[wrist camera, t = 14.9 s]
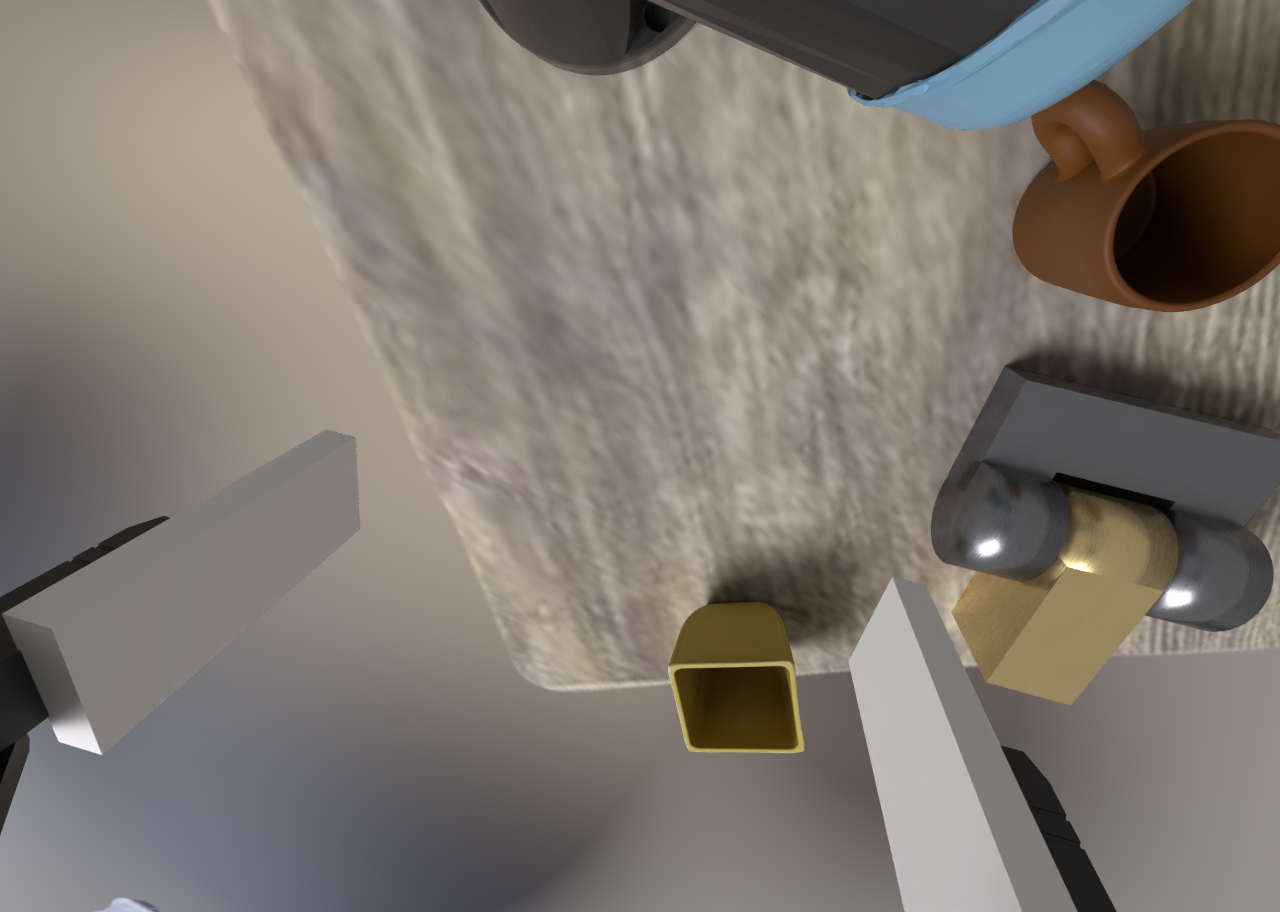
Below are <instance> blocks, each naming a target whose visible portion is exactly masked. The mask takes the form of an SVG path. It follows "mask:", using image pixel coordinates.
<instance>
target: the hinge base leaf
mask: <svg viewBox="0 0 1280 912" xmlns="http://www.w3.org/2000/svg"><path fill="white" fill-rule="evenodd" d="M1057 472H1058V473H1062V474H1066V475H1070V476H1074V477H1078V478H1082V479H1086V480H1090V481H1094V482H1098V483H1102V484H1107V485H1111V486H1115V487H1119V488H1123V489H1127V490H1131V491H1135V492H1134V494H1133V495H1132V496H1131V498H1130V499H1129V501H1133V502H1137V503H1141V504H1145V505H1149V506H1152V507H1154V508H1156V509H1158V510H1159V511H1161V512H1162V513H1163V514H1164V515H1165V516H1166V517H1167V518H1168V519H1169V521H1170V522H1171V524H1172V526H1173V527H1174V530H1175V532H1176V536H1177V540H1178V547H1179V551H1178V562H1177V566H1176V570H1175V573H1174V575H1173V578H1172V580H1171V582H1170V583H1169V585H1168V587H1167V588H1166V589H1165V591H1164V592H1163V593H1162V594H1161V596H1160V597H1159V598H1158V599H1157V601H1156V602H1155V603H1154V604H1153V605H1152V607H1151V608H1150V609H1149V610H1148V612H1147V613H1146V614H1145V615H1146V616H1150V617H1153V618H1157V619H1161V620H1165V621H1169V622H1172V623H1176V624H1180V625H1184V626H1188V627H1192V628H1195V629H1199V630H1204V631H1211V632H1219V631H1226V630H1231V629H1234V628H1236V627H1239V626H1241V625H1243V624H1245V623H1246V622H1248V621H1249V620H1251V619H1252V618H1253V617H1254V616H1255V615H1256V614H1257V613H1258V612H1259V611H1260V610H1261V609H1262V608H1263V606H1264V604H1265V603H1266V601H1267V599H1268V597H1269V595H1270V592H1271V589H1272V585H1273V565H1272V560H1271V557H1270V554H1269V552H1268V550H1267V548H1266V547H1265V545H1264V544H1263V543H1262V541H1261V540H1260V539H1259V538H1258V537H1257V536H1256V535H1255V534H1253V533H1252V532H1251V531H1249V530H1247V529H1246V528H1244V526H1245V525H1246V523H1247V522H1248V521H1249V520H1250V519H1251V517H1252V516H1253V515H1254V514H1255V513H1256V512H1257V510H1258V509H1259V508H1260V507H1261V506H1262V504H1263V503H1264V502H1265V501H1266V500H1267V499H1268V497H1269V496H1270V495H1271V494H1272V493H1273V491H1274V490H1275V489H1276V488H1277V487H1278V486H1279V484H1280V434H1278V433H1275V432H1273V431H1271V430H1269V429H1266V428H1263V427H1258V426H1254V425H1250V424H1246V423H1242V422H1238V421H1233V420H1229V419H1225V418H1221V417H1217V416H1212V415H1208V414H1204V413H1200V412H1196V411H1191V410H1187V409H1183V408H1179V407H1175V406H1170V405H1166V404H1162V403H1158V402H1154V401H1149V400H1145V399H1141V398H1137V397H1133V396H1129V395H1124V394H1120V393H1116V392H1112V391H1108V390H1103V389H1099V388H1095V387H1091V386H1087V385H1082V384H1078V383H1074V382H1070V381H1066V380H1061V379H1057V378H1053V377H1049V376H1045V375H1041V374H1036V373H1032V372H1028V371H1024V370H1020V369H1015V368H1011V367H1007V366H1005V367H1004V369H1003V371H1002V373H1001V375H1000V376H999V378H998V380H997V382H996V384H995V386H994V388H993V390H992V392H991V394H990V396H989V397H988V399H987V401H986V403H985V405H984V407H983V409H982V411H981V413H980V415H979V417H978V418H977V420H976V422H975V424H974V426H973V428H972V430H971V432H970V434H969V436H968V438H967V439H966V441H965V443H964V445H963V447H962V449H961V451H960V453H959V455H958V457H957V459H956V460H955V462H954V464H953V466H952V468H951V470H950V472H949V476H948V477H947V479H946V480H945V482H944V484H943V485H942V487H941V489H940V491H939V494H938V496H937V499H936V502H935V506H934V510H933V515H932V521H931V538H932V544H933V548H934V550H935V553H936V554H937V556H938V557H939V559H940V560H942V561H943V562H945V563H947V564H951V565H955V566H959V567H963V568H966V569H970V570H974V571H978V572H982V573H985V574H989V575H993V576H997V577H1001V578H1005V579H1008V580H1012V581H1016V582H1027V581H1031V580H1033V579H1036V578H1037V577H1039V576H1040V575H1042V574H1043V573H1044V572H1045V571H1046V570H1047V569H1048V568H1049V567H1050V566H1051V565H1052V564H1053V562H1054V561H1055V559H1056V558H1057V556H1058V554H1059V552H1060V550H1061V548H1062V546H1063V543H1064V541H1065V537H1066V533H1067V528H1068V518H1069V516H1068V505H1067V500H1066V497H1065V495H1064V492H1063V490H1062V489H1061V487H1060V486H1059V485H1058V484H1057V483H1056V482H1055V481H1054V480H1052V479H1053V477H1054V476H1055V474H1056V473H1057Z"/></svg>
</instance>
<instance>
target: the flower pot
mask: <svg viewBox="0 0 1280 912" xmlns="http://www.w3.org/2000/svg"><path fill="white" fill-rule="evenodd" d="M668 672H669V677H670V681H671V685H672V689H673V693H674V697H675V701H676V705H677V710H678V713H679V718H680V722H681V726H682V731H683V736H684V740H685V743H686V746H687V748H688V749H689V750H690V751H693V752H694V751H695V752H763V753H764V752H765V753H795V752H802V751H804V748H805V746H804V739H803V733H802V728H801V721H800V714H799V706H798V696H797V687H796V674H795V665H794V661H793V657H792V653H791V649H790V645H789V640H788V636H787V632H786V628H785V625H784V622H783V620H782V618H781V616H780V615H779V613H778V612H777V611H776V610H775V609H774V608H773V607H771V606H770V605H768V604H766V603H764V602H740V603H718V604H708V605H705V606H703V607H701V608H699V609H698V610H696V611H695V612H693V613H692V614H691V615H690V616H689V617H688V619H687V620H686V621H685V623H684V625H683V627H682V629H681V631H680V634H679V637H678V640H677V642H676V645H675V648H674V651H673V654H672V657H671V660H670V663H669V666H668Z"/></svg>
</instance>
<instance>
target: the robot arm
mask: <svg viewBox="0 0 1280 912" xmlns="http://www.w3.org/2000/svg"><path fill="white" fill-rule="evenodd" d="M479 1H480V2H481V4H482V5H483V7H484V8H485V9H486V11H487V12H488V13H489V15H490V16H491V17H492V18H493V20H494V21H495V22H496V23H497V24H498V25H499V26H500V27H501V29H502V30H503V31H504V32H505V33H507V34H508V35H509V36H510V37H511V38H512V39H513V40H515V41H516V42H517V43H518V44H520V45H521V46H522V47H524V48H525V49H527V50H528V51H530V52H531V53H533V54H534V55H536V56H537V57H539V58H540V59H542V60H544V61H545V62H547V63H549V64H551V65H553V66H556V67H558V68H561V69H564V70H566V71H570V72H574V73H579V74H586V75H608V74H615V73H620V72H624V71H628V70H631V69H634V68H636V67H639V66H642V65H644V64H646V63H648V62H650V61H651V60H653V59H655V58H656V57H658V56H660V55H661V54H663V53H664V52H665V51H667V50H668V49H669V48H671V47H672V46H673V45H674V44H675V43H677V42H678V41H679V40H680V39H681V38H682V37H683V36H684V35H685V34H686V33H687V32H688V31H689V29H690V28H691V27H692V26H693V25H694V24H695V22H698V23H701V24H703V25H705V26H708V27H710V28H712V29H714V30H717V31H719V32H721V33H724V34H726V35H728V36H730V37H733V38H735V39H737V40H740V41H742V42H744V43H747V44H749V45H751V46H753V47H756V48H758V49H760V50H763V51H765V52H767V53H769V54H772V55H774V56H776V57H779V58H781V59H783V60H785V61H788V62H790V63H792V64H795V65H797V66H799V67H802V68H804V69H806V70H808V71H811V72H813V73H815V74H818V75H820V76H822V77H824V78H827V79H829V80H831V81H834V82H836V83H838V84H840V85H843V86H845V87H847V89H848V94H849V95H850V97H851V98H853V99H854V100H855V101H856V102H858V103H861V104H863V105H865V106H869V107H872V106H876V107H881V108H888V107H892V108H895V109H898V110H900V111H903V112H906V113H908V114H911V115H914V116H916V117H919V118H921V119H924V120H927V121H929V122H932V123H935V124H937V125H940V126H943V127H946V128H949V129H954V130H961V131H963V130H973V129H989V128H992V127H1002V126H1006V125H1009V124H1012V123H1015V122H1017V121H1020V120H1023V119H1025V118H1027V117H1029V116H1032V115H1034V114H1036V113H1038V112H1040V111H1042V110H1044V109H1046V108H1048V107H1050V106H1052V105H1054V104H1056V103H1058V102H1059V101H1061V100H1063V99H1064V98H1066V97H1068V96H1069V95H1071V94H1073V93H1074V92H1076V91H1077V90H1079V89H1081V88H1082V87H1084V86H1085V85H1087V84H1088V83H1090V82H1091V81H1093V80H1094V79H1096V78H1097V77H1099V76H1100V75H1101V74H1103V73H1104V72H1105V71H1107V70H1108V69H1110V68H1111V67H1112V66H1114V65H1115V64H1116V63H1118V62H1119V61H1120V60H1121V59H1123V58H1124V57H1125V56H1127V55H1128V54H1129V53H1131V52H1132V51H1133V50H1135V49H1136V48H1137V47H1138V46H1140V45H1141V44H1142V43H1143V42H1145V41H1146V40H1147V39H1148V38H1149V37H1151V36H1152V35H1153V34H1154V33H1156V32H1157V31H1158V30H1159V29H1161V28H1162V27H1163V26H1164V25H1165V24H1167V23H1168V22H1169V21H1170V20H1172V19H1173V18H1174V17H1175V16H1176V15H1178V14H1179V13H1180V12H1181V11H1182V10H1183V9H1184V8H1185V7H1187V6H1188V5H1189V4H1190V3H1191V2H1192V1H1193V0H479ZM358 499H359V498H358V478H357V457H356V438H355V437H353V436H349V435H345V434H341V433H337V432H333V431H330V430H325V431H323V432H321V433H320V434H318V435H316V436H314V437H312V438H311V439H309V440H307V441H305V442H304V443H302V444H300V445H298V446H297V447H295V448H293V449H292V450H290V451H288V452H286V453H284V454H283V455H281V456H279V457H277V458H276V459H274V460H272V461H270V462H268V463H267V464H265V465H263V466H262V467H260V468H258V469H256V470H254V471H253V472H251V473H249V474H247V475H246V476H244V477H242V478H240V479H238V480H237V481H235V482H233V483H232V484H230V485H228V486H226V487H224V488H223V489H221V490H219V491H217V492H216V493H214V494H212V495H210V496H209V497H207V498H205V499H203V500H201V501H200V502H198V503H196V504H194V505H193V506H191V507H189V508H188V509H186V510H184V511H182V512H180V513H179V514H177V515H175V516H173V517H172V518H169V517H166V516H162V517H159V518H156V519H153V520H150V521H147V522H144V523H141V524H137V525H135V526H132V527H129V528H127V529H125V530H123V531H121V532H119V533H117V534H116V535H114V536H112V537H110V538H108V539H106V540H104V541H103V542H101V543H99V544H98V547H96V548H94V547H92V548H90V549H88V550H86V551H84V552H82V553H81V554H79V555H77V556H75V557H73V560H72V561H71V562H69V561H66V562H64V563H62V564H60V565H58V566H57V567H55V568H53V569H51V570H49V571H47V572H46V573H44V574H42V575H40V576H38V577H37V578H35V579H33V580H31V581H29V582H27V583H25V584H24V585H22V586H20V587H18V588H16V589H14V590H12V591H11V592H9V593H7V594H5V595H3V596H2V597H0V834H1V831H2V828H3V825H4V822H5V819H6V817H7V814H8V811H9V808H10V805H11V802H12V799H13V796H14V793H15V790H16V788H17V785H18V782H19V779H20V776H21V773H22V770H23V767H24V764H25V762H26V759H27V756H28V753H29V744H30V743H29V742H30V738H29V736H28V734H27V733H28V732H29V731H30V730H32V729H33V728H34V727H35V726H37V725H38V724H39V723H41V722H42V721H44V720H45V719H46V718H47V717H48V718H49V721H50V723H51V725H52V727H53V730H54V732H55V734H56V736H57V739H58V740H59V742H62V743H65V744H68V745H71V746H75V747H78V748H81V749H84V750H88V751H91V752H94V753H97V754H101V755H103V754H104V753H105V752H106V751H107V750H108V749H110V748H111V747H112V746H113V745H114V744H115V743H116V742H117V741H119V740H120V739H121V738H122V737H123V736H124V735H126V734H127V733H128V732H129V731H130V730H131V729H132V728H134V726H136V725H137V724H138V723H139V722H140V721H142V720H143V719H144V718H145V717H146V716H147V715H148V714H150V713H151V712H152V711H153V710H154V709H155V708H156V707H157V706H159V705H160V704H161V703H162V702H163V701H164V700H165V699H167V698H168V697H169V696H170V695H171V694H172V693H173V692H175V691H176V690H177V689H178V688H179V687H180V686H181V685H183V684H184V683H185V682H186V681H187V680H188V679H189V678H191V677H192V676H193V675H194V674H195V673H196V672H197V671H199V670H200V669H201V668H202V667H203V666H204V665H205V664H207V663H208V662H209V661H210V660H211V659H212V658H213V657H215V656H216V655H217V654H218V653H219V652H220V651H221V650H223V648H225V646H227V645H228V644H229V643H231V642H232V641H233V640H234V639H235V638H236V637H237V636H239V635H240V634H241V633H242V632H243V631H244V630H245V629H246V628H247V627H249V626H250V625H251V624H252V623H253V622H254V621H256V620H257V619H258V618H259V617H260V616H261V615H262V614H263V613H265V612H266V611H267V610H268V609H269V608H270V607H271V606H273V605H274V604H275V603H276V602H277V601H278V600H280V599H281V598H282V597H283V596H284V595H285V594H286V593H288V592H289V591H290V590H291V589H292V588H293V587H294V586H295V585H297V584H298V583H299V582H300V581H301V580H302V579H303V578H305V577H306V576H307V575H308V574H309V573H310V572H311V571H313V570H314V569H315V568H316V567H317V566H318V565H319V564H321V563H322V562H323V561H324V560H325V559H326V558H327V557H328V556H330V555H331V554H332V553H333V552H334V551H335V550H336V549H338V548H339V547H340V546H341V545H342V544H343V543H345V542H346V541H347V540H348V539H349V538H350V537H351V536H353V535H354V534H355V533H356V532H357V531H358V530H359V529H360V519H359V500H358ZM849 665H850V670H851V674H852V679H853V683H854V688H855V692H856V697H857V701H858V705H859V710H860V714H861V719H862V723H863V728H864V732H865V737H866V741H867V745H868V750H869V754H870V758H871V763H872V768H873V772H874V777H875V781H876V786H877V790H878V794H879V799H880V803H881V808H882V812H883V817H884V821H885V825H886V830H887V835H888V839H889V843H890V848H891V852H892V857H893V861H894V865H895V870H896V875H897V879H898V884H899V887H900V892H901V897H902V901H903V906H904V910H905V912H1116V910H1115V908H1114V906H1113V904H1112V902H1111V900H1110V898H1109V896H1108V894H1107V893H1106V890H1105V889H1104V887H1103V885H1102V883H1101V881H1100V879H1099V877H1098V875H1097V873H1096V871H1095V869H1094V867H1093V865H1092V864H1091V862H1090V860H1089V858H1088V856H1087V854H1086V852H1085V850H1083V849H1081V848H1080V840H1079V838H1078V837H1077V835H1076V833H1075V831H1074V829H1073V827H1072V825H1071V823H1070V822H1069V821H1067V820H1066V814H1065V811H1064V810H1063V808H1062V806H1061V804H1060V802H1059V800H1058V798H1057V796H1056V794H1055V792H1054V790H1053V788H1052V786H1051V784H1050V783H1049V781H1048V780H1047V779H1046V778H1045V777H1044V776H1043V774H1042V773H1041V772H1040V771H1039V770H1038V768H1037V767H1036V766H1035V765H1034V764H1033V762H1032V761H1031V760H1030V759H1029V758H1028V757H1027V756H1026V754H1025V753H1024V752H1023V751H1019V750H1015V749H1012V748H1008V747H1004V746H1001V745H1000V744H999V742H998V740H997V738H996V736H995V733H994V731H993V729H992V727H991V725H990V723H989V720H988V718H987V716H986V714H985V712H984V710H983V707H982V706H981V703H980V701H979V699H978V697H977V695H976V692H975V690H974V688H973V686H972V684H971V682H970V679H969V677H968V675H967V673H966V671H965V669H964V666H963V664H962V662H961V660H960V658H959V656H958V654H957V651H956V649H955V647H954V645H953V643H952V641H951V639H950V636H949V634H948V632H947V630H946V628H945V626H944V623H943V621H942V619H941V617H940V615H939V613H938V611H937V608H936V606H935V604H934V602H933V600H932V598H931V595H930V593H929V591H928V589H927V587H926V585H922V584H918V583H915V582H911V581H907V580H903V579H899V578H895V577H892V578H891V580H890V582H889V584H888V586H887V588H886V590H885V592H884V594H883V596H882V598H881V600H880V602H879V604H878V605H877V607H876V609H875V611H874V613H873V615H872V617H871V619H870V621H869V623H868V625H867V627H866V629H865V631H864V633H863V635H862V637H861V639H860V640H859V642H858V644H857V646H856V648H855V650H854V652H853V654H852V656H851V658H850V660H849Z"/></svg>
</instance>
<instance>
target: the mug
mask: <svg viewBox="0 0 1280 912" xmlns="http://www.w3.org/2000/svg"><path fill="white" fill-rule="evenodd" d="M1032 125H1033V129H1034V132H1035V135H1036V137H1037V139H1038V140H1039V142H1040V144H1041V145H1042V146H1043V148H1044V149H1045V150H1046V151H1047V153H1048V154H1049V155H1050V156H1051V158H1052V159H1053V160H1054V161H1053V162H1051V163H1050V164H1049V165H1048V166H1047V167H1045V168H1044V169H1043V170H1042V171H1041V172H1040V173H1039V174H1038V175H1037V176H1036V178H1035V179H1034V180H1033V181H1032V183H1031V184H1030V185H1029V187H1028V188H1027V190H1026V192H1025V193H1024V195H1023V197H1022V199H1021V201H1020V203H1019V205H1018V208H1017V211H1016V214H1015V218H1014V224H1013V242H1014V247H1015V250H1016V253H1017V256H1018V257H1019V259H1020V261H1021V262H1022V264H1023V265H1024V266H1025V267H1026V269H1027V270H1028V271H1030V272H1031V273H1032V274H1033V275H1034V276H1036V277H1038V278H1039V279H1041V280H1043V281H1045V282H1048V283H1050V284H1053V285H1056V286H1059V287H1063V288H1066V289H1069V290H1072V291H1075V292H1078V293H1081V294H1085V295H1088V296H1092V297H1095V298H1098V299H1102V300H1105V301H1109V302H1112V303H1116V304H1120V305H1123V306H1128V307H1134V308H1142V309H1147V310H1153V311H1161V312H1181V311H1190V310H1195V309H1200V308H1204V307H1207V306H1210V305H1213V304H1216V303H1219V302H1222V301H1224V300H1226V299H1229V298H1231V297H1233V296H1235V295H1237V294H1239V293H1241V292H1243V291H1245V290H1246V289H1248V288H1249V287H1251V286H1253V285H1254V284H1256V283H1257V282H1259V281H1260V280H1261V279H1262V278H1264V277H1265V276H1266V275H1268V274H1269V273H1270V272H1271V271H1272V270H1273V269H1274V268H1276V267H1277V266H1278V265H1279V264H1280V125H1278V124H1275V123H1271V122H1267V121H1261V120H1224V121H1204V122H1196V123H1190V124H1183V125H1177V126H1171V127H1164V128H1158V129H1152V130H1146V131H1142V130H1141V128H1140V126H1139V124H1138V122H1137V120H1136V117H1135V115H1134V113H1133V111H1132V110H1131V108H1130V107H1129V106H1128V104H1127V103H1126V102H1125V101H1124V100H1123V99H1122V98H1121V97H1120V96H1119V95H1118V94H1116V93H1115V92H1114V91H1113V90H1111V89H1110V88H1109V87H1107V86H1106V85H1105V84H1103V83H1100V82H1098V81H1096V80H1093V81H1091V82H1090V83H1088V84H1087V85H1085V86H1084V87H1082V88H1081V89H1079V90H1077V91H1076V92H1074V93H1073V94H1071V95H1069V96H1068V97H1066V98H1064V99H1063V100H1061V101H1059V102H1058V103H1056V104H1054V105H1052V106H1050V107H1048V108H1046V109H1044V110H1042V111H1040V112H1038V113H1036V114H1034V115H1032Z"/></svg>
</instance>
